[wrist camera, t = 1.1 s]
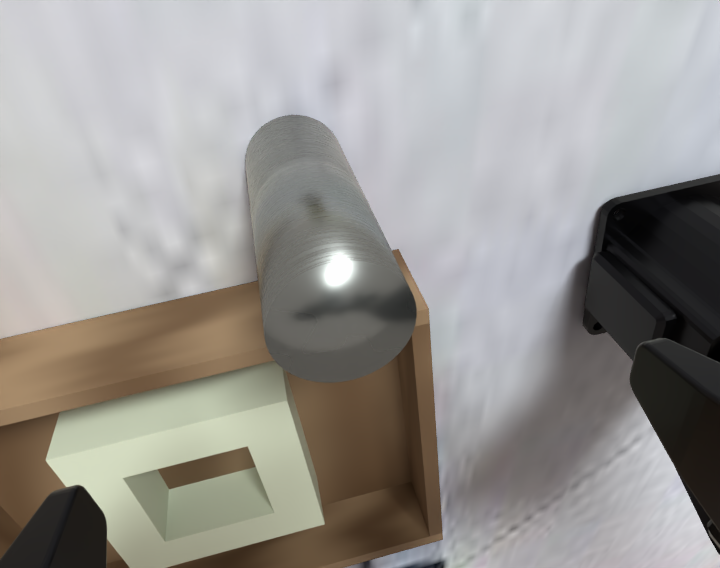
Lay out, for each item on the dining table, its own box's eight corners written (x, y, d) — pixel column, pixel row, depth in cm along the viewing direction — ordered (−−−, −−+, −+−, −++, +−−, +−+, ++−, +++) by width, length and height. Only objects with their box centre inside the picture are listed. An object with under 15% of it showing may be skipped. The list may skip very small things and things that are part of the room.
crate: (398, 249, 20) (428, 308, 17) (420, 475, 28) (442, 539, 25) (-132, 368, 18) (-196, 456, 15) (61, 571, 26) (42, 651, 24)
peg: (334, 105, 16) (412, 245, 10) (348, 196, 18) (420, 362, 12) (234, 126, 16) (246, 283, 10) (258, 215, 18) (282, 397, 11)
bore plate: (280, 352, 20) (287, 400, 19) (316, 476, 25) (324, 524, 23) (61, 405, 20) (45, 460, 18) (142, 522, 25) (135, 575, 23)
